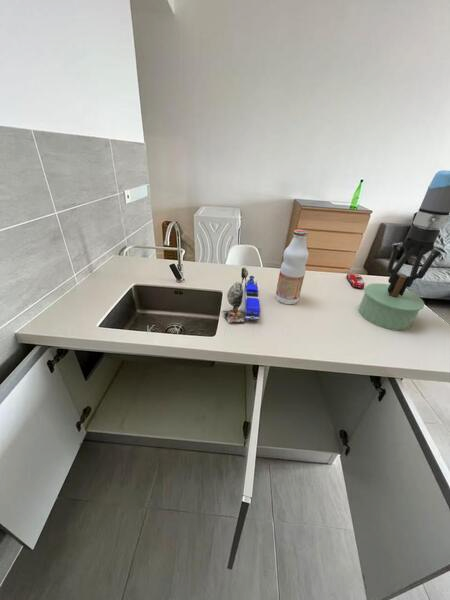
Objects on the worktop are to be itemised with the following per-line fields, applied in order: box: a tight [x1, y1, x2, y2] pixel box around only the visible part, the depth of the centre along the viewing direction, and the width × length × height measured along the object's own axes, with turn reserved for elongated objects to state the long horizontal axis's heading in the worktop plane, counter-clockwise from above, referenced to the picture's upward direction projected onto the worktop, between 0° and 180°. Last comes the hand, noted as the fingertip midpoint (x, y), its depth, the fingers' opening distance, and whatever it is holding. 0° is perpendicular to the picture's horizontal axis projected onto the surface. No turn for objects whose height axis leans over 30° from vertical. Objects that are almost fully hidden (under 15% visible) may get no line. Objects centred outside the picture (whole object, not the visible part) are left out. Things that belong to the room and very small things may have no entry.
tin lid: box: [364, 273, 425, 311], centre depth 86 cm, size 19×19×9 cm
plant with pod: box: [222, 267, 249, 324], centre depth 83 cm, size 8×11×20 cm
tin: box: [358, 292, 420, 331], centre depth 91 cm, size 18×18×8 cm
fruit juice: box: [275, 229, 310, 305], centre depth 93 cm, size 9×9×28 cm
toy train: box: [244, 275, 261, 321], centre depth 93 cm, size 5×25×8 cm, turn 177°
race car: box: [346, 272, 366, 289], centre depth 115 cm, size 13×5×4 cm, turn 170°
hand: (394, 292), depth 87 cm, fingers closed on tin lid, 3 cm apart
